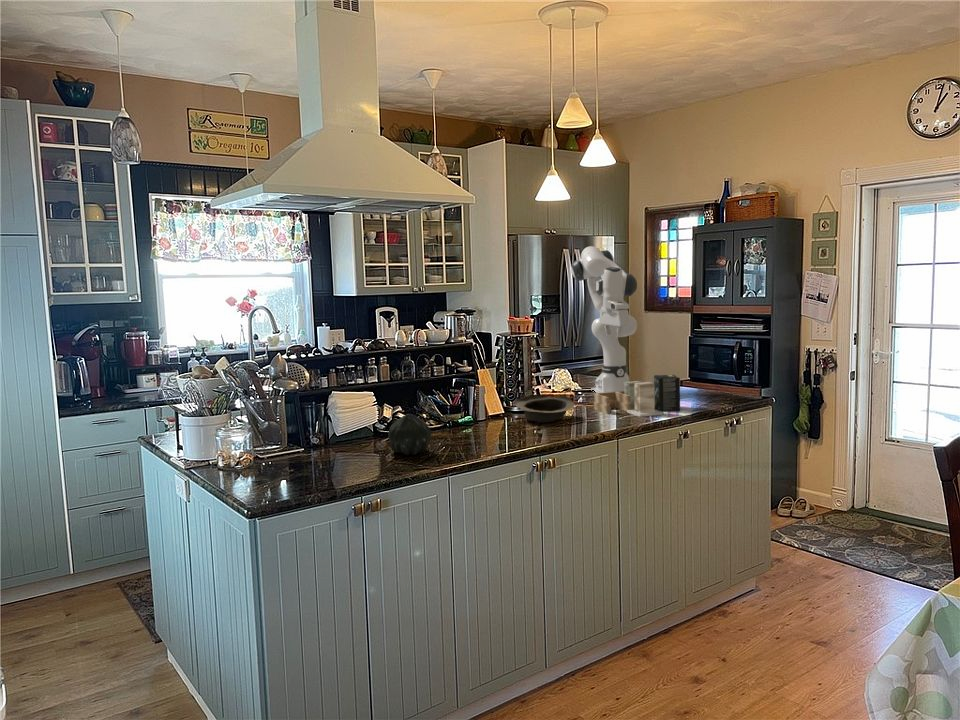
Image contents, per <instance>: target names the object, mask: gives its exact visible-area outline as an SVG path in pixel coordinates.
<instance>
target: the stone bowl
mask: <svg viewBox="0 0 960 720" xmlns="http://www.w3.org/2000/svg"><path fill="white" fill-rule="evenodd" d="M514 403H515V407H516V408H519V409H521V410H522V411H524V417H525V418H524V419H525V420H526V421H529V422H530V421H531V422H532V421H533V422H536V423H539V424H540V423H541V424H542V423H553V422H555V421H557V420H560V419H562V418H564V416H565V415H566V413H567V411H569V410H571V409H573V408H574V406H575V404H574V402H573V400H572V399H571V398H570V397H568V396H567V395H560V396H550V395H544V394H541V393H539V394H530V395H528V396H523V397H518V398H516V399H515V400H514Z"/></svg>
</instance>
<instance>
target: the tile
mask: <svg viewBox="0 0 960 720" xmlns="http://www.w3.org/2000/svg"><path fill="white" fill-rule="evenodd" d="M626 413H629V414H630V415H634V416H636V417H639V418H640V417H641V418H643V417H652V415H653V416H663V415H664V411H659V410H658V409H655V411H652V412H642V413H640V412H637V411H635V409H633V410H627V411H626Z"/></svg>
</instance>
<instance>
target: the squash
mask: <svg viewBox="0 0 960 720" xmlns="http://www.w3.org/2000/svg"><path fill="white" fill-rule="evenodd" d="M387 436H388V440H389V441H388V442H389V445H390V447H391V449H392V450H393V451H395V452H398V453H401V454H404V455H405V456H409V455H410V454H411V455H413V456H414V455H417V454H422V453H425V452H426V450H427V449H428V447H429V446H430V443H431V439H432V431H431V429H430V426H429V425H428V424H427V423H426V421H424V420H423V419H422V418H420V417H418V416H417V415H415V414H412V413H406V414H404V415H403V416H402V417H401V416H400V418H399V419H397V420H395V421H394V422H393V423H391V425H390V426H389V430H388V435H387Z"/></svg>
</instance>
